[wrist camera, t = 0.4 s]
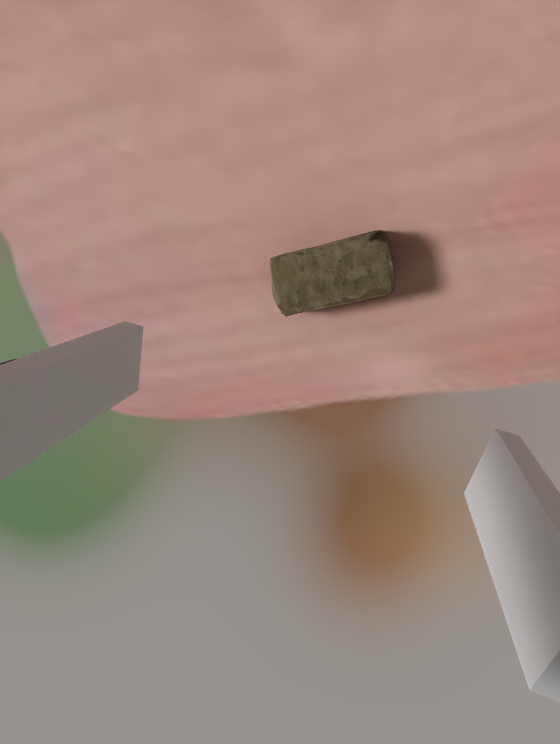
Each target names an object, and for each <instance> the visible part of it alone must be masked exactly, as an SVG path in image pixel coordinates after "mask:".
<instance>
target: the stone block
mask: <svg viewBox="0 0 560 744" xmlns="http://www.w3.org/2000/svg"><path fill="white" fill-rule="evenodd" d="M270 268H271V277H272V292H273V296H274V299H275V302H276V304H277V306H278V308H279V309H280V310H281V313H282V314H284V315H285V316H289V315H293V314H297V313H301V312H307V311H313V310H317V309H322V308H328V307H333V306H338V305H343V304H349V303H354V302H358V301H363V300H367V299H371V298H375V297H380V296H385V295H388V294H390V293H391V292H392V291H393V290H394V289H395V283H396V282H395V270H394V265H393V261H392V257H391V252H390V247H389V244H388V239H387V235H386V232H385V231H382V230H378V231H373V232H368V233H364V234H360V235H357V236H353V237H349V238H345V239H342V240H338V241H334V242H331V243H328V244H324V245H320V246H316V247H313V248H308V249H303V250H298V251H294V252H290V253H286V254H282V255H279V256H276V257H273V258H271V262H270Z"/></svg>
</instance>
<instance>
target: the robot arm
mask: <svg viewBox="0 0 560 744" xmlns="http://www.w3.org/2000/svg"><path fill="white" fill-rule="evenodd" d="M142 335H143V326H140V325H136V324H133V323H129V322H126V321H125V322H122V323H119V324H116V325H113V326H110V327H108V328H105V329H102V330H99V331H96V332H93V333H90V334H87V335H85V336H82V337H79V338H76V339H73V340H70V341H67V342H64V343H62V344H59V345H56V346H53V347H50V348H47V349H44V350H42V351H39V352H36V353H33V354H30V355H27V356H24V357H22V358H19V359H13V360H10V361H7V362H4V363H1V364H0V480H2V479H3V478H5V477H6V476H8V475H10V474H11V473H13V472H14V471H16V470H17V469H19V468H20V467H21V466H23V465H25V464H26V463H28V462H29V461H31V460H32V459H33V458H35V457H37V456H38V455H40V454H42V453H43V452H44V451H46V450H48V449H49V448H50V447H52V446H54V445H55V444H57V443H58V442H60V441H61V440H63V439H64V438H66V437H67V436H69V435H70V434H72V433H74V432H75V431H77V430H78V429H80V428H81V427H83V426H84V425H86V424H87V423H89V422H90V421H92V420H93V419H95V418H96V417H98V416H99V415H101V414H102V413H104V412H106V411H107V410H109V409H110V408H112V407H113V406H115V405H116V404H118V403H119V402H121V401H122V400H124V399H126V398H127V397H129V396H130V395H132V394H133V393H135V392H136V391H138V384H139V372H140V360H141V347H142ZM464 495H465V498H466V500H467V503H468V507H469V510H470V513H471V516H472V519H473V521H474V525H475V528H476V531H477V534H478V537H479V539H480V543H481V546H482V549H483V552H484V555H485V558H486V561H487V564H488V567H489V570H490V573H491V576H492V579H493V582H494V585H495V588H496V591H497V594H498V597H499V600H500V603H501V606H502V609H503V612H504V615H505V618H506V621H507V624H508V627H509V630H510V633H511V636H512V639H513V642H514V645H515V648H516V651H517V654H518V657H519V660H520V663H521V666H522V669H523V672H524V675H525V678H526V681H527V684H528V687H529V690H530V691H533V692H535V693H538V694H540V695H543V696H546V697H548V698H551V699H554V700H556V701H559V702H560V493H559V491H558V490H557V489H556V487H555V486H554V484H553V483H552V481H551V480H550V479H549V477H548V476H547V474H546V473H545V471H544V470H543V469H542V467H541V466H540V464H539V463H538V461H537V460H536V459H535V457H534V456H533V454H532V453H531V451H530V450H529V449H528V447H527V446H526V444H525V443H524V442H523V440H522V439H521V437H520V436H519V435H516V434H512V433H509V432H505V431H502V430H498V429H495V431H494V433H493V435H492V437H491V439H490V441H489V443H488V445H487V447H486V450H485V452H484V454H483V456H482V458H481V460H480V462H479V464H478V466H477V468H476V470H475V472H474V474H473V476H472V478H471V480H470V482H469V484H468V486H467V488H466V490H465V492H464Z"/></svg>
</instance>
